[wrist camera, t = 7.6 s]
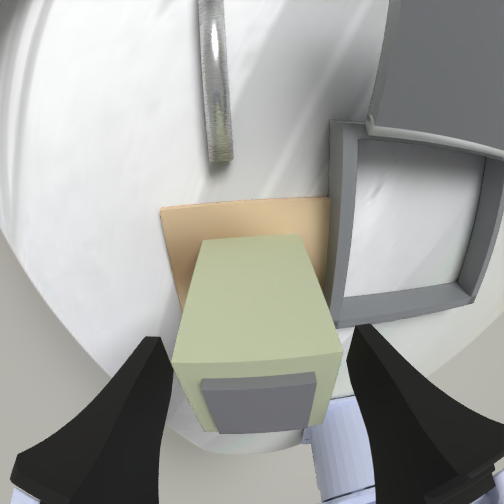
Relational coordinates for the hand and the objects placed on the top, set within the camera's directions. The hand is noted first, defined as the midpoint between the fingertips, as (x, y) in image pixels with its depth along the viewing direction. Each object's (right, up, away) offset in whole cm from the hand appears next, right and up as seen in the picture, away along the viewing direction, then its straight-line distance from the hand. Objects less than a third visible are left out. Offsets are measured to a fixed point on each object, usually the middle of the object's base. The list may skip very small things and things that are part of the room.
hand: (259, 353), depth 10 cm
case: (+9, +5, +3) cm, 11 cm away
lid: (+8, +13, -1) cm, 15 cm away
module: (0, +2, +4) cm, 5 cm away
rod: (-2, +11, 0) cm, 11 cm away
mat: (0, +3, +4) cm, 5 cm away
